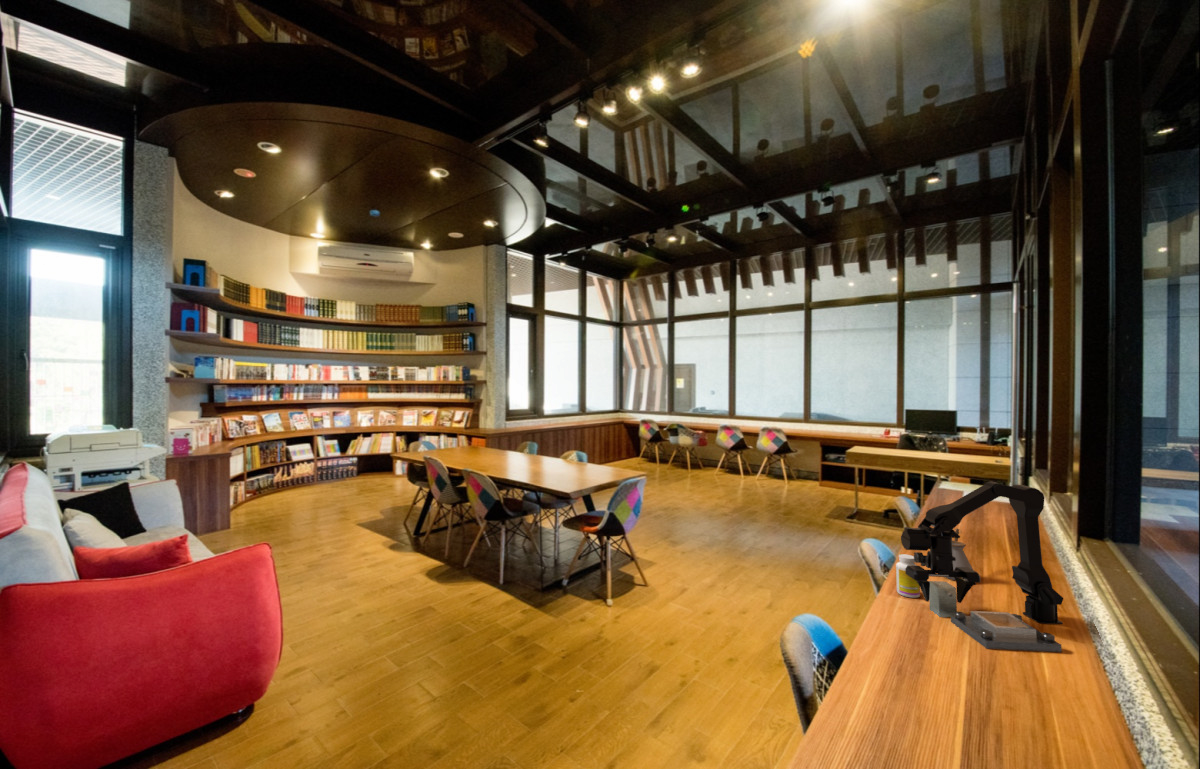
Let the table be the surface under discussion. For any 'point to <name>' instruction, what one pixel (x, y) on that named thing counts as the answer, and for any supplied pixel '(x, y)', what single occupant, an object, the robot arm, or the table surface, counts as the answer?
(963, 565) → the coffee pot
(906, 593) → the supplement bottle
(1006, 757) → the table surface
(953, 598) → the brushed metal square peg
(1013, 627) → the square hole base plate
